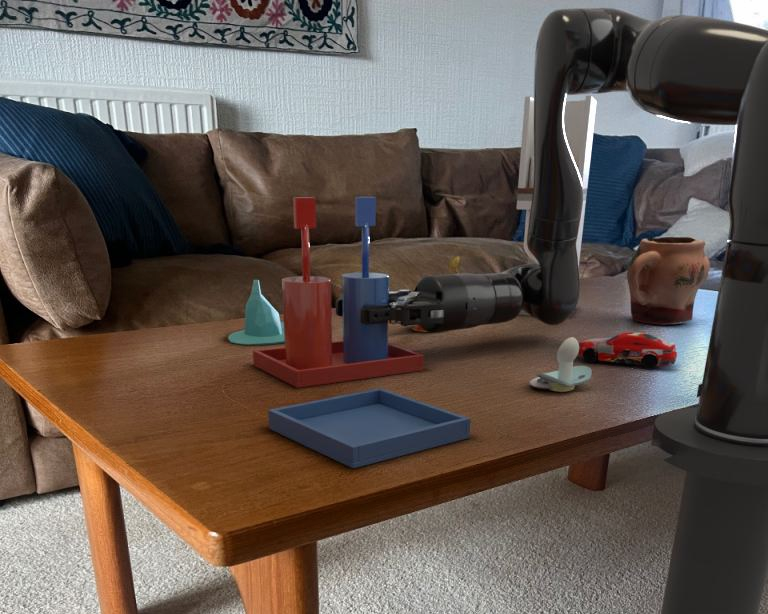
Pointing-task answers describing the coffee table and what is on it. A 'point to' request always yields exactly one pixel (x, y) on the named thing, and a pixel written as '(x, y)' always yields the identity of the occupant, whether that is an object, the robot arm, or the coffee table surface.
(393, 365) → the red tray
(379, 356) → the blue pot
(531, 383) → the pacifier
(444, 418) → the blue tray
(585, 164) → the display case
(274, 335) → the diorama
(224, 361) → the coffee table surface
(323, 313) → the red spoon pot
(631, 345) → the race car
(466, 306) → the robot arm
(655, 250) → the decorative planter
